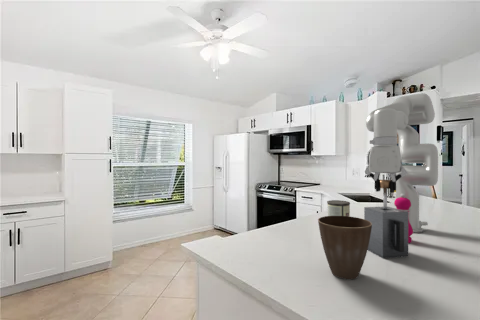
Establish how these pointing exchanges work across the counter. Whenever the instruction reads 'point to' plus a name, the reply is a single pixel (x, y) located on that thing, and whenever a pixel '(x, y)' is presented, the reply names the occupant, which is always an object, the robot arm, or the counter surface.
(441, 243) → the counter surface
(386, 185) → the plunger
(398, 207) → the pepper mill
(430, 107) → the robot arm
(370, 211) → the press
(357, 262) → the plant pot
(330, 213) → the coffee can
